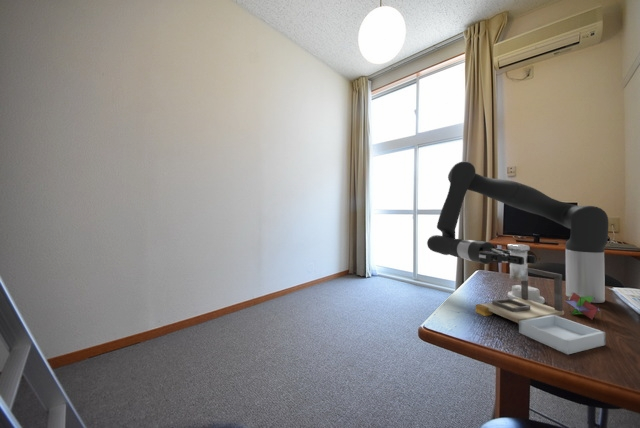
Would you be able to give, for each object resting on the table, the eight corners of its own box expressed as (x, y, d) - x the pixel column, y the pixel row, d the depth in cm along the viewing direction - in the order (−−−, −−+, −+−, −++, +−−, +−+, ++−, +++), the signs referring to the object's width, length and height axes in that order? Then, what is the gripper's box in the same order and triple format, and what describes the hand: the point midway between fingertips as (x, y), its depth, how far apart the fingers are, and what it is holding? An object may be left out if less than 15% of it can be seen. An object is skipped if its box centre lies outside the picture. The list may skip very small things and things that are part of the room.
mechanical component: (518, 304, 81) (552, 306, 79) (518, 291, 81) (552, 293, 79) (502, 294, 90) (532, 295, 88) (501, 282, 90) (531, 284, 88)
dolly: (521, 304, 79) (520, 266, 79) (564, 319, 68) (563, 274, 68) (475, 312, 74) (475, 270, 74) (514, 329, 63) (513, 281, 63)
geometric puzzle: (616, 316, 65) (594, 287, 70) (593, 317, 65) (573, 288, 70) (591, 322, 71) (573, 295, 76) (570, 323, 71) (553, 296, 75)
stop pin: (515, 275, 72) (515, 243, 72) (534, 280, 68) (534, 245, 67) (503, 277, 71) (503, 244, 71) (521, 282, 66) (521, 246, 66)
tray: (553, 325, 65) (553, 314, 65) (605, 344, 55) (605, 332, 55) (518, 332, 62) (518, 321, 62) (567, 354, 52) (567, 341, 52)
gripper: (458, 241, 81) (510, 248, 65) (490, 239, 85) (547, 246, 68) (459, 263, 81) (510, 275, 65) (491, 260, 85) (547, 271, 68)
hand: (528, 260), depth 67 cm, fingers closed on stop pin, 4 cm apart
